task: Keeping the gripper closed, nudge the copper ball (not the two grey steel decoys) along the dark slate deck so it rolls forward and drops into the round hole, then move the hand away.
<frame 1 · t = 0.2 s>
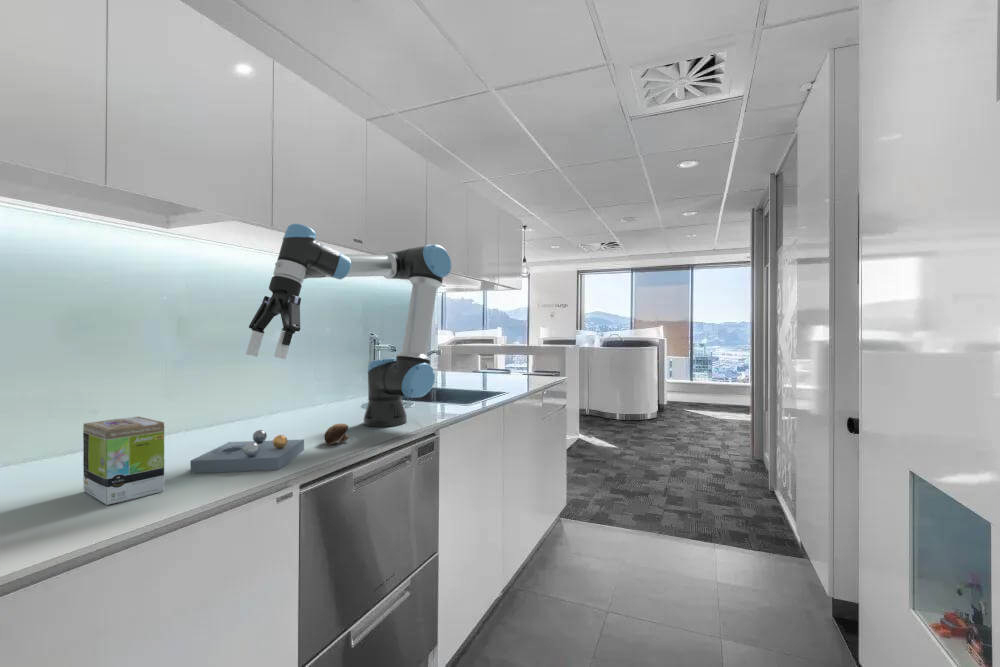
hand: (265, 356, 116), 27 cm above the counter, fingers open, 13 cm apart
copper ball: (280, 441, 116), point 5 cm above the counter, touching deck
mushroom: (336, 443, 133), on the counter
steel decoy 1: (251, 449, 109), point 5 cm above the counter, touching deck
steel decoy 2: (259, 436, 123), point 5 cm above the counter, touching deck
deck: (252, 460, 116), on the counter
tea box: (124, 492, 94), on the counter
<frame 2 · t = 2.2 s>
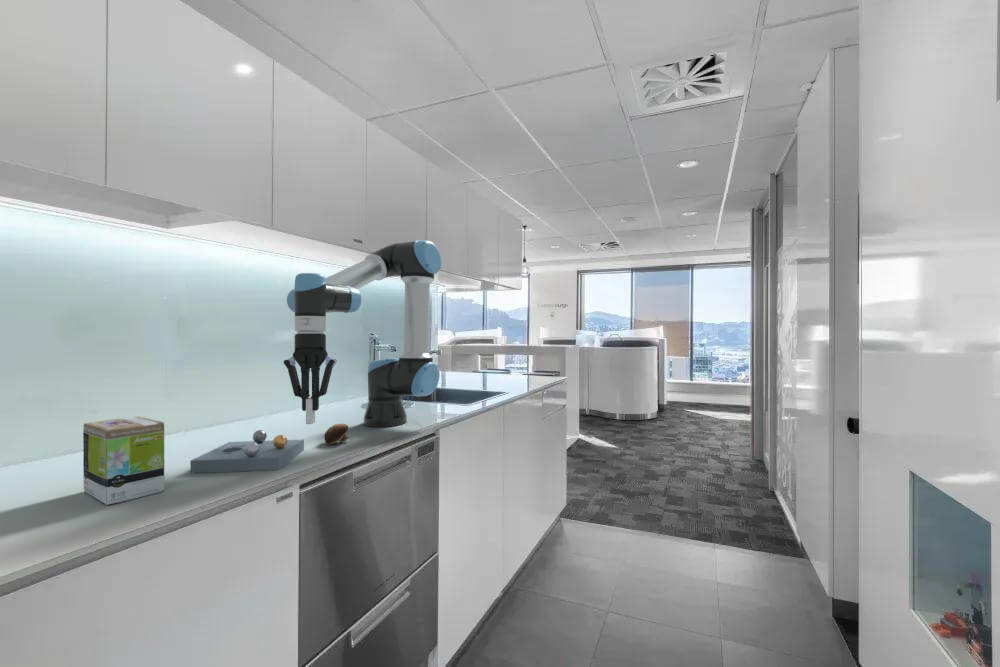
hand: (310, 423, 117), 9 cm above the counter, fingers closed
nothing on the counter moved.
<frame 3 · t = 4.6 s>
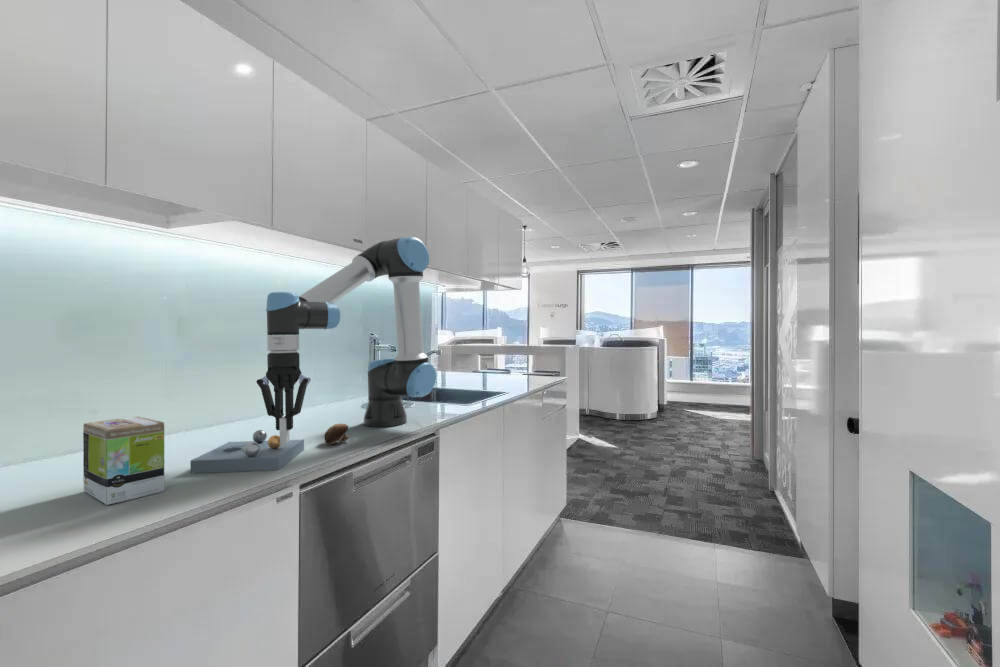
hand: (284, 442, 116), 5 cm above the counter, fingers closed
copper ball: (275, 441, 116), point 5 cm above the counter, tilted 41°, touching deck
everything else where it was.
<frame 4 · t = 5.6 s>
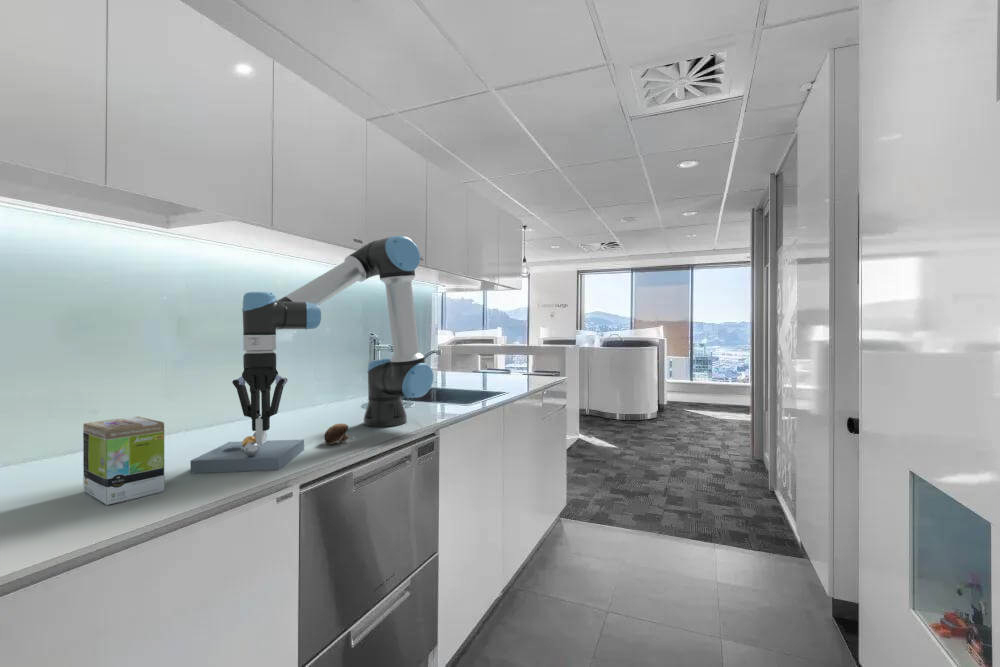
hand: (261, 443, 116), 5 cm above the counter, fingers closed
copper ball: (249, 442, 116), point 5 cm above the counter, tilted 110°, touching deck
everything else where it was.
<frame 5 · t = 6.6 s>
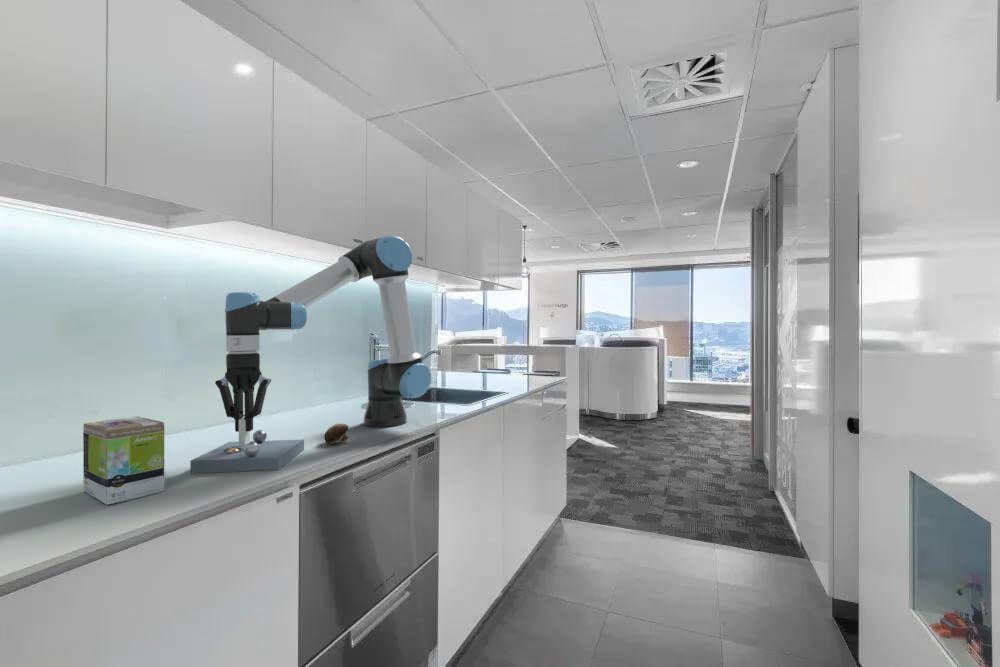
hand: (244, 443, 116), 4 cm above the counter, fingers closed
copper ball: (233, 454, 115), point 2 cm above the counter, tilted 68°
everything else where it was.
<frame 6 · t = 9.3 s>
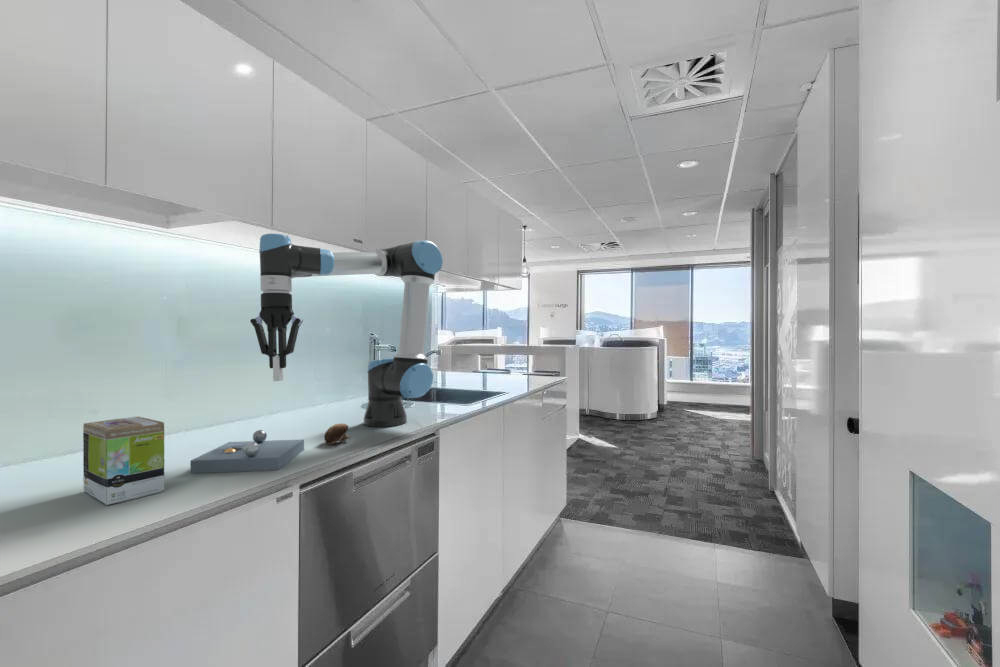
hand: (278, 380, 120), 20 cm above the counter, fingers closed
copper ball: (229, 454, 115), point 2 cm above the counter, tilted 96°
everything else where it was.
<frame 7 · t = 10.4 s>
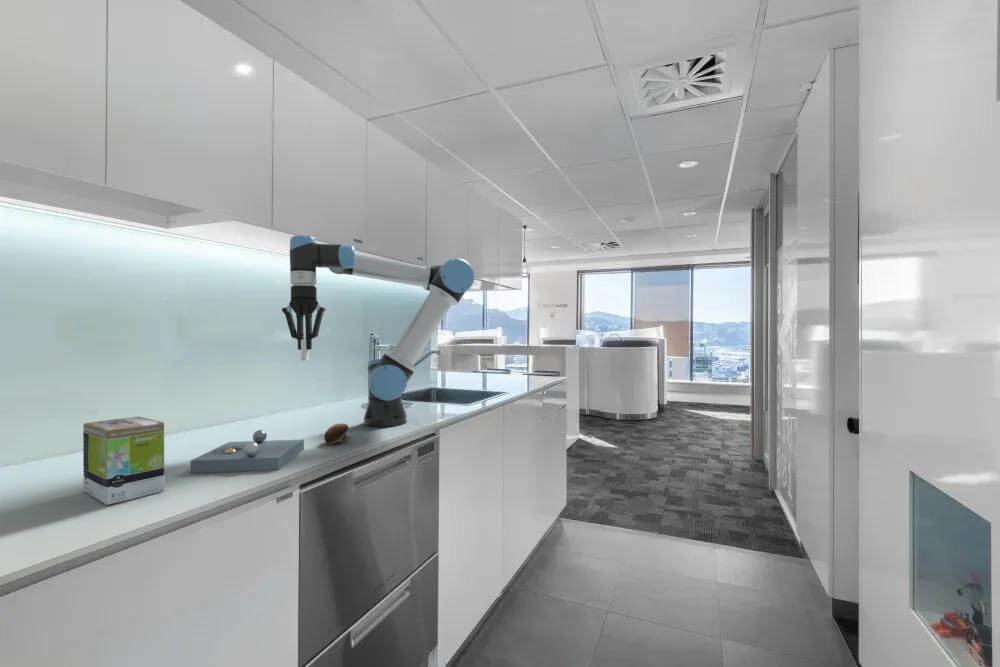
hand: (305, 360, 142), 24 cm above the counter, fingers closed
nothing on the counter moved.
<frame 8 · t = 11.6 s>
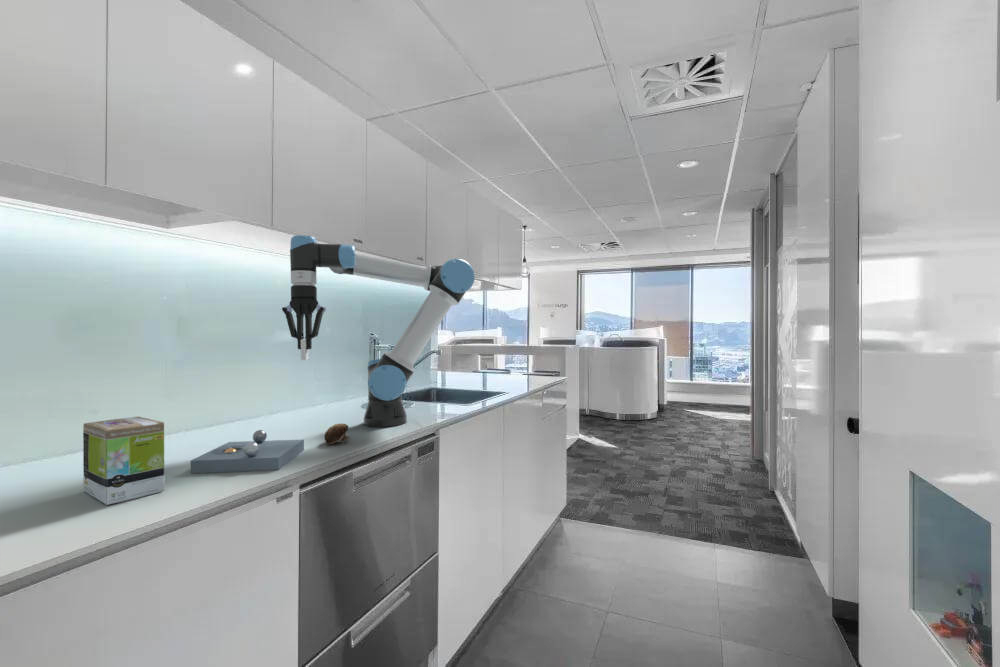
hand: (304, 359, 142), 24 cm above the counter, fingers closed
nothing on the counter moved.
at the end: copper ball 0.4 cm from the target spot in the deck, point 1.7 cm above the deck's base; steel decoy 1 moved 0.0 cm from its start; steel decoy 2 moved 0.0 cm from its start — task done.
